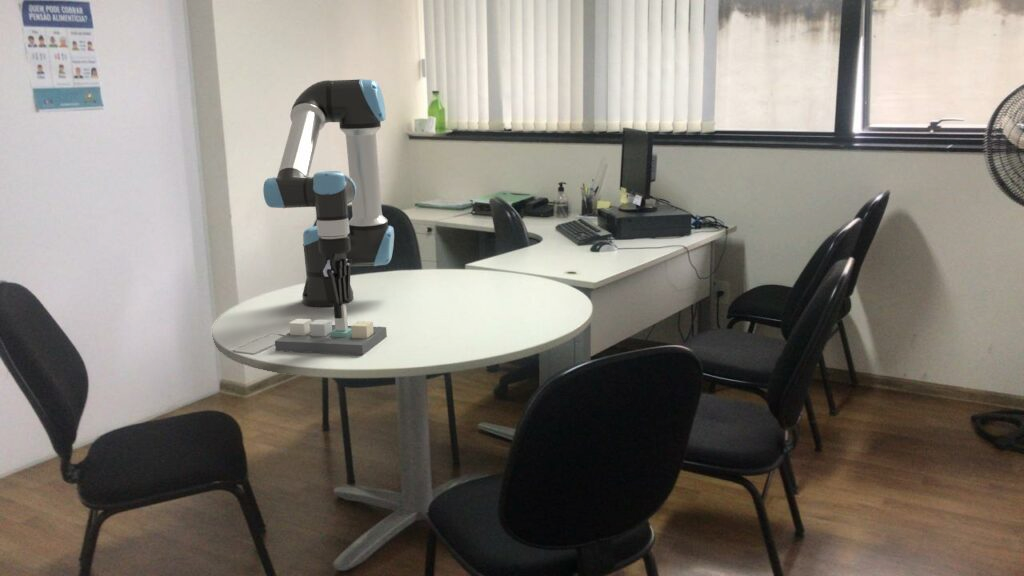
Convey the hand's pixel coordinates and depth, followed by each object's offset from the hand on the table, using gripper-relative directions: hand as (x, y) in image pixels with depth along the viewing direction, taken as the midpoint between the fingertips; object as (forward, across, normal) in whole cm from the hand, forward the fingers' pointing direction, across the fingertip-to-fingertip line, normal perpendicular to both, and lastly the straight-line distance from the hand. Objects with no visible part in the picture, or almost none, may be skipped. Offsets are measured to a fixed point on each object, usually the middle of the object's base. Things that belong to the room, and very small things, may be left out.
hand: (341, 329), depth 198 cm
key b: (+1, 0, -6) cm, 6 cm away
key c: (+3, 0, 0) cm, 3 cm away
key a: (+1, 0, -11) cm, 11 cm away
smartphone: (+4, +3, -20) cm, 21 cm away
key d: (+1, 0, +6) cm, 6 cm away
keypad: (+4, 0, -3) cm, 5 cm away
